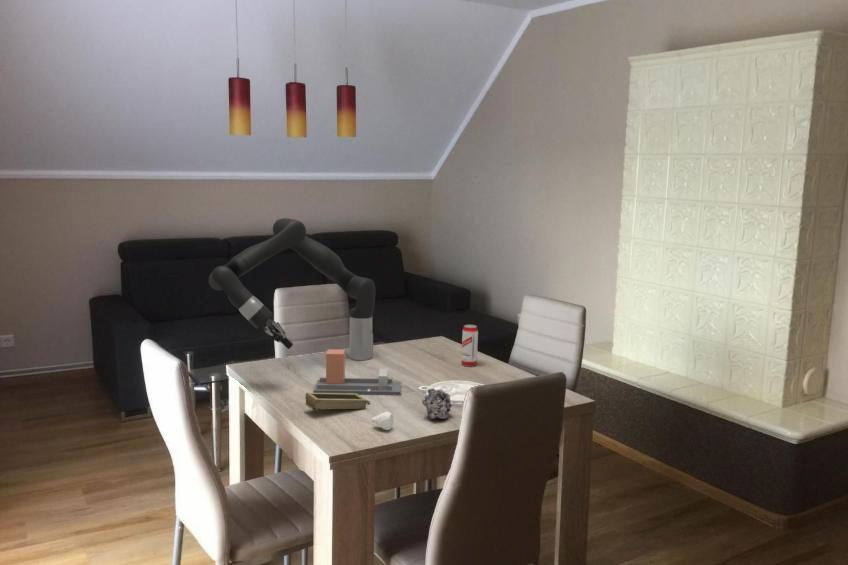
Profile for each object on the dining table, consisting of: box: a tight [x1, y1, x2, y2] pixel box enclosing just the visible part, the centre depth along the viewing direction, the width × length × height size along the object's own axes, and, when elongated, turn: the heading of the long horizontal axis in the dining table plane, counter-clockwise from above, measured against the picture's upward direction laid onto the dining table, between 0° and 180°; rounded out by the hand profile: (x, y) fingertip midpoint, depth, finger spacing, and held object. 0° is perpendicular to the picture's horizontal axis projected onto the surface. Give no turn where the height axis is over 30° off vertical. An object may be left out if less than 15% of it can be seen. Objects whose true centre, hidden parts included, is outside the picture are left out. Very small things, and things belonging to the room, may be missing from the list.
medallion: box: [417, 379, 484, 408], centre depth 252 cm, size 24×27×2 cm
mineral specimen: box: [421, 389, 453, 421], centre depth 230 cm, size 13×10×11 cm
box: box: [304, 392, 371, 412], centre depth 235 cm, size 8×22×5 cm, turn 124°
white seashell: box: [371, 411, 394, 431], centre depth 218 cm, size 6×6×5 cm
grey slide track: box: [313, 368, 402, 396], centre depth 255 cm, size 30×12×6 cm, turn 92°
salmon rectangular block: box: [325, 348, 346, 384], centre depth 254 cm, size 6×6×12 cm
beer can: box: [460, 324, 479, 368], centre depth 288 cm, size 6×6×16 cm
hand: (291, 346), depth 252 cm, fingers closed
